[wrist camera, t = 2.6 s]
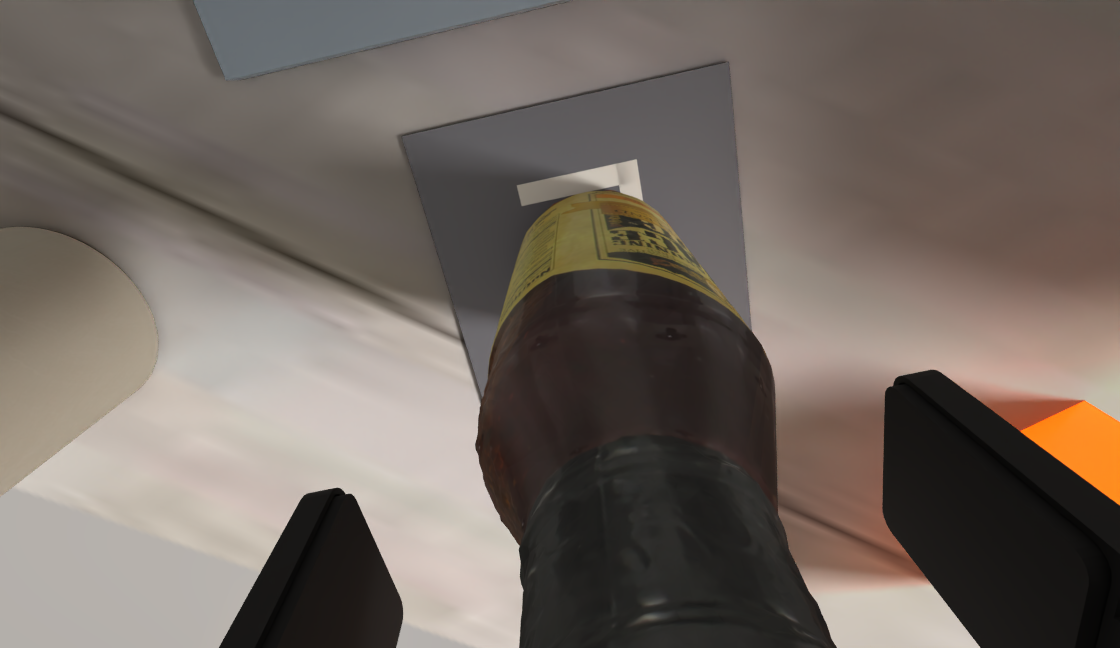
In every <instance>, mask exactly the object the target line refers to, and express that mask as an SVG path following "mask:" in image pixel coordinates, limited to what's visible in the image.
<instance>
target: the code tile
mask: <svg viewBox="0 0 1120 648" xmlns="http://www.w3.org/2000/svg"><path fill="white" fill-rule="evenodd" d="M402 140H403V143H404V146H405V150H406V153H407V156H408V159H409V163H410V166H411V169H412V172H413V175H414V179H415V182H416V185H417V188H418V192H419V195H420V198H421V201H422V205H423V208H424V211H425V214H426V218H427V221H428V224H429V227H430V230H431V234H432V237H433V240H434V243H435V247H436V250H437V253H438V256H439V260H440V263H441V266H442V269H443V273H444V276H445V279H446V282H447V285H448V289H449V292H450V295H451V298H452V302H453V305H454V308H455V311H456V315H457V318H458V321H459V324H460V327H461V331H462V334H463V337H464V340H465V344H466V347H467V350H468V353H469V357H470V360H471V363H472V366H473V370H474V373H475V376H476V379H477V382H478V386H479V389H480V392H481V395H482V398H483V396H484V389H485V386H486V383H487V380H488V366H489V358H490V353H491V349H492V345H493V342H494V339H495V335H496V332H497V328H498V324H499V320H500V317H501V313H502V309H503V306H504V302H505V299H506V295H507V291H508V288H509V284H510V281H511V277H512V274H513V271H514V268H515V264H516V260H517V257H518V254H519V251H520V248H521V245H522V242H523V240H524V237H525V235H526V232H527V231H528V230H529V228H530V227H531V226H532V225H533V223H534V222H535V221H536V220H537V219H538V218H539V217H540V216H541V215H542V214H543V213H544V212H545V211H546V210H547V209H548V208H549V207H550V206H552V205H553V204H554V203H556V202H558V201H561V200H563V199H565V198H568V197H571V196H573V195H576V194H580V193H584V192H590V191H606V190H614V191H617V192H620V193H623V194H626V195H630V196H633V197H635V198H638V199H640V200H642V201H644V202H645V203H646V204H648V205H649V206H651V207H652V208H654V209H655V210H656V211H658V212H659V214H660V215H661V216H662V217H663V218H664V219H665V220H666V221H667V222H668V224H669V225H670V226H671V228H672V229H673V230H674V232H675V233H676V234H677V235H678V237H679V238H680V240H681V241H682V242H683V243H684V245H685V246H686V247H687V248H688V250H689V251H690V252H691V253H692V254H693V256H694V257H695V258H696V260H697V261H698V263H699V264H700V265H701V266H702V267H703V268H704V270H705V271H706V272H707V273H708V275H709V276H710V278H711V279H712V280H713V281H714V283H715V284H716V286H717V287H718V288H719V289H720V291H721V292H722V293H723V295H724V296H725V297H726V299H727V300H728V301H729V302H730V304H731V305H732V306H733V307H734V308H735V310H736V311H737V312H738V314H739V315H740V316H741V318H742V319H743V321H744V322H745V323H746V325H747V326H748V327H749V329H750V330H751V331H752V328H751V317H750V305H749V293H748V281H747V269H746V257H745V245H744V234H743V222H742V210H741V198H740V186H739V174H738V163H737V151H736V139H735V127H734V115H733V103H732V91H731V80H730V68H729V62H725V63H721V64H716V65H712V66H708V67H703V68H699V69H694V70H690V71H686V72H681V73H677V74H672V75H668V76H664V77H659V78H655V79H651V80H646V81H642V82H637V83H633V84H629V85H624V86H620V87H615V88H611V89H607V90H602V91H598V92H594V93H589V94H585V95H580V96H576V97H572V98H567V99H563V100H558V101H554V102H550V103H545V104H541V105H536V106H532V107H528V108H523V109H519V110H515V111H510V112H506V113H501V114H497V115H493V116H488V117H484V118H479V119H475V120H471V121H466V122H462V123H458V124H453V125H449V126H444V127H440V128H436V129H431V130H427V131H422V132H418V133H414V134H409V135H405V136H402Z"/></svg>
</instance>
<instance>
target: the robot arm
mask: <svg viewBox="0 0 1120 648" xmlns="http://www.w3.org/2000/svg"><path fill="white" fill-rule="evenodd" d="M883 515H884V518H885V521H886V524H887V526H888V528H889V529H890V531H891V532H892V534H893V535H894V536H895V537H896V539H897V540H898V541H899V543H900V544H901V545H902V547H903V548H904V549H905V550H906V552H907V553H908V554H909V556H910V557H911V558H912V559H913V561H914V562H915V563H916V565H917V566H918V567H919V569H920V570H921V571H922V572H923V574H924V575H925V576H926V578H927V579H928V580H929V582H930V583H931V584H932V585H933V587H934V588H935V589H936V591H937V592H938V593H939V594H940V596H941V597H942V598H943V600H944V601H945V602H946V604H947V605H948V606H949V607H950V609H951V610H952V611H953V613H954V614H955V615H956V616H957V618H958V619H959V620H960V622H961V623H962V624H963V626H964V627H965V628H966V629H967V631H968V632H969V633H970V635H971V636H972V637H973V639H974V640H975V641H976V642H977V644H978V645H979V646H980V648H1120V505H1119V504H1117V503H1116V502H1115V501H1113V500H1112V499H1111V498H1109V497H1108V496H1107V495H1105V494H1104V493H1102V492H1101V491H1100V490H1098V489H1097V488H1096V487H1094V486H1093V485H1092V484H1090V483H1089V482H1088V481H1086V480H1085V479H1084V478H1082V477H1081V476H1080V475H1078V474H1077V473H1076V472H1074V471H1073V470H1071V469H1070V468H1069V467H1067V466H1066V465H1065V464H1063V463H1062V462H1061V461H1059V460H1058V459H1057V458H1055V457H1054V456H1053V455H1051V454H1050V453H1049V452H1047V451H1046V450H1045V449H1043V448H1042V447H1040V446H1039V445H1038V444H1036V443H1035V442H1034V441H1032V440H1031V439H1030V438H1028V437H1027V436H1026V435H1024V434H1023V433H1022V432H1020V431H1019V430H1018V429H1016V428H1015V427H1014V426H1012V425H1011V424H1009V423H1008V422H1007V421H1005V420H1004V419H1003V418H1001V417H1000V416H999V415H997V414H996V413H995V412H993V411H992V410H991V409H989V408H988V407H987V406H985V405H984V404H983V403H981V402H980V401H978V400H977V399H976V398H974V397H973V396H972V395H970V394H969V393H968V392H966V391H965V390H964V389H962V388H961V387H960V386H958V385H957V384H956V383H954V382H953V381H952V380H950V379H949V378H947V377H946V376H945V375H943V374H942V373H941V372H939V371H937V370H928V371H923V372H918V373H913V374H908V375H903V376H899V377H897V378H896V379H895V381H894V385H893V386H892V387H889V388H887V390H886V391H885V413H884V462H883ZM402 620H403V606H402V601H401V598H400V596H399V594H398V591H397V589H396V587H395V585H394V583H393V580H392V578H391V576H390V574H389V572H388V569H387V567H386V565H385V563H384V560H383V558H382V556H381V554H380V552H379V549H378V547H377V545H376V543H375V540H374V538H373V536H372V534H371V532H370V529H369V527H368V525H367V523H366V520H365V518H364V516H363V514H362V512H361V509H360V507H359V505H358V503H357V501H356V499H355V497H354V496H353V495H352V494H345V493H344V491H343V490H342V489H340V488H333V489H328V490H323V491H318V492H313V493H308V494H306V495H304V496H303V498H302V499H301V500H300V502H299V504H298V506H297V508H296V509H295V511H294V513H293V515H292V517H291V518H290V520H289V522H288V524H287V526H286V527H285V529H284V531H283V533H282V535H281V536H280V538H279V540H278V542H277V544H276V545H275V547H274V549H273V551H272V553H271V555H270V556H269V558H268V560H267V562H266V564H265V565H264V567H263V569H262V571H261V573H260V574H259V576H258V578H257V580H256V582H255V584H254V586H253V587H252V589H251V591H250V593H249V594H248V596H247V598H246V600H245V602H244V604H243V605H242V607H241V609H240V611H239V612H238V614H237V616H236V618H235V620H234V621H233V623H232V625H231V627H230V629H229V630H228V632H227V634H226V636H225V638H224V639H223V641H222V643H221V645H220V647H219V648H396V645H397V641H398V637H399V633H400V629H401V625H402Z"/></svg>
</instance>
